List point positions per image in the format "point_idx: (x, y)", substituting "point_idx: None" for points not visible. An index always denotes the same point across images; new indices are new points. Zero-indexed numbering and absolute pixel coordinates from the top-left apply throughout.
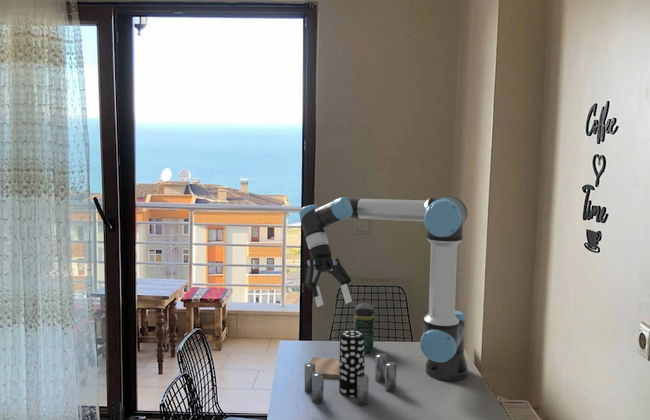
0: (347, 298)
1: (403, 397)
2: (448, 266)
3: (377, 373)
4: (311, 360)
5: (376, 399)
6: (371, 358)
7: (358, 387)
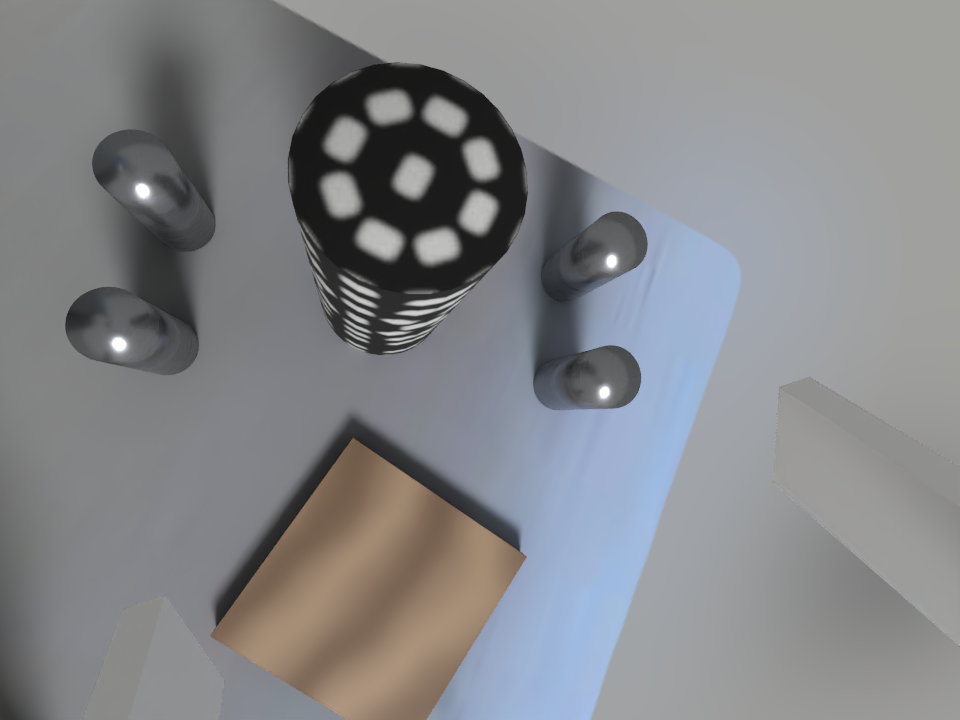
0: (173, 701)
1: (175, 126)
2: None
3: (182, 327)
4: (430, 703)
5: None
6: (19, 661)
7: None
